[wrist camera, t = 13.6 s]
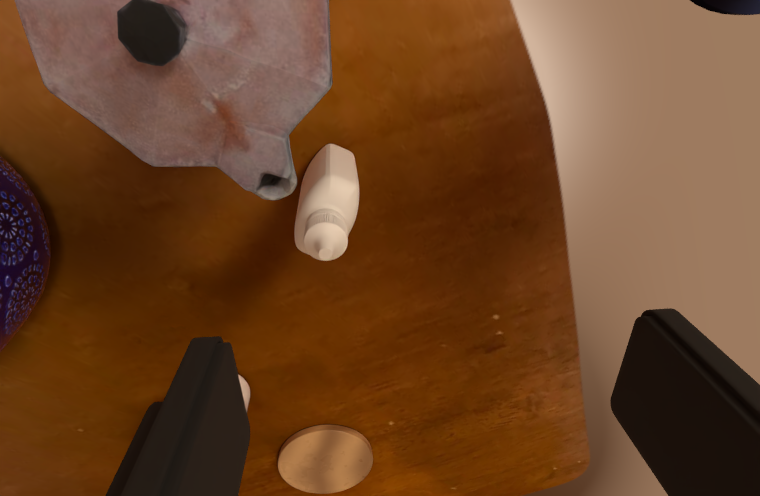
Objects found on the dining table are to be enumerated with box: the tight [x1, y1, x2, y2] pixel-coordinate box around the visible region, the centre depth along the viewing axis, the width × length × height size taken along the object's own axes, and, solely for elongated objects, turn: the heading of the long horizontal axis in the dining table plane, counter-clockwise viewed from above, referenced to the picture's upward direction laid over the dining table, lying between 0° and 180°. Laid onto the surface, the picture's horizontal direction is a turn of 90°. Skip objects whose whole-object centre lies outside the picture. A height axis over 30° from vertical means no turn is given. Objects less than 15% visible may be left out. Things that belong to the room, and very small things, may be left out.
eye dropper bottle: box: [294, 144, 359, 261], centre depth 28 cm, size 4×6×12 cm
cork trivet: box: [278, 425, 373, 494], centre depth 48 cm, size 10×10×1 cm
